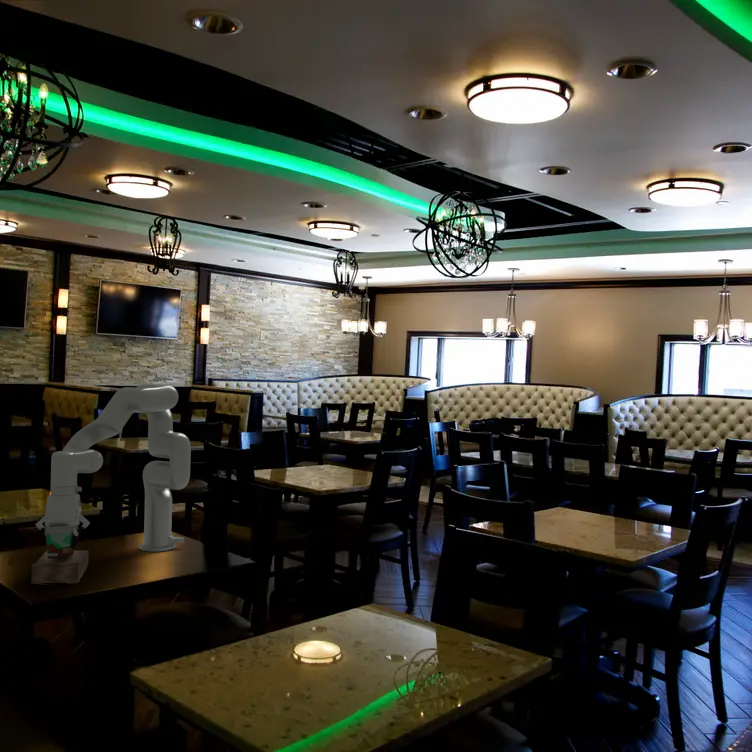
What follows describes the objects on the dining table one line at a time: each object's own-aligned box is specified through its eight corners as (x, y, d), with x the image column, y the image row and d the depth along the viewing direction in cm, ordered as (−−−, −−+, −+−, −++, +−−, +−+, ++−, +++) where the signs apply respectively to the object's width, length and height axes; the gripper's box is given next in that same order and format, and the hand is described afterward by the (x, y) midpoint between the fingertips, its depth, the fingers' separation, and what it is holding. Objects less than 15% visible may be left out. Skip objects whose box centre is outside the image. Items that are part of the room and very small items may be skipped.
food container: (62, 560, 222) (63, 528, 222) (44, 559, 223) (44, 527, 223) (85, 551, 234) (85, 520, 234) (68, 550, 235) (68, 519, 235)
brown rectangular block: (88, 565, 239) (88, 547, 239) (77, 583, 220) (78, 563, 220) (45, 566, 236) (45, 548, 236) (31, 584, 217) (31, 564, 217)
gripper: (94, 488, 234) (93, 544, 234) (36, 489, 230) (35, 546, 230) (91, 492, 227) (89, 550, 227) (31, 493, 223) (29, 552, 223)
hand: (62, 547), depth 228 cm, fingers closed on food container, 6 cm apart
